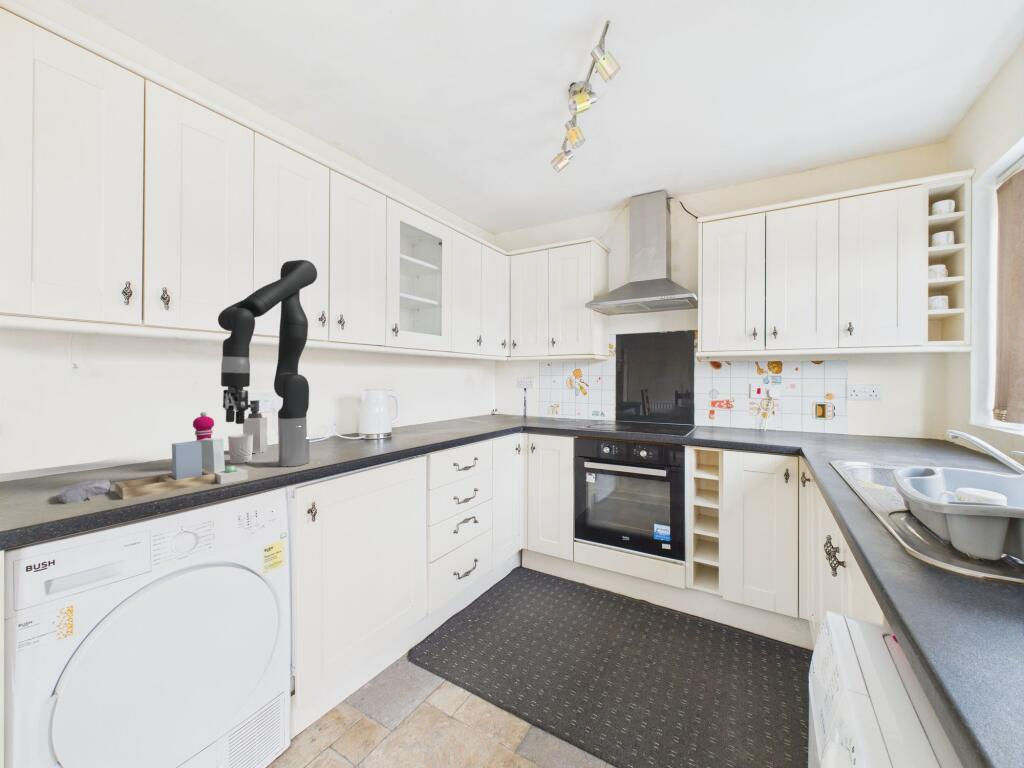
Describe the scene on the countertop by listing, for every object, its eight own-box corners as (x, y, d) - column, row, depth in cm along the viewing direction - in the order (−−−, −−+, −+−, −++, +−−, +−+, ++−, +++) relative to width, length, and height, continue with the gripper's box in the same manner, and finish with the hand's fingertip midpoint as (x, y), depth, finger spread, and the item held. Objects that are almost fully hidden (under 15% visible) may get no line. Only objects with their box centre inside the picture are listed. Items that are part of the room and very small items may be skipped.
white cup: (223, 463, 151) (222, 436, 151) (242, 459, 158) (242, 433, 158) (239, 464, 149) (238, 437, 148) (258, 460, 156) (258, 434, 156)
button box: (239, 478, 129) (238, 467, 129) (247, 482, 125) (247, 470, 125) (212, 483, 123) (212, 471, 123) (221, 487, 119) (220, 475, 119)
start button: (233, 472, 126) (233, 465, 126) (236, 474, 124) (236, 466, 124) (223, 474, 124) (223, 466, 124) (226, 475, 122) (226, 467, 122)
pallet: (203, 480, 127) (202, 469, 127) (215, 486, 120) (214, 474, 120) (115, 495, 111) (114, 482, 111) (123, 503, 105) (123, 489, 105)
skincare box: (225, 474, 135) (225, 438, 134) (214, 477, 130) (213, 440, 130) (209, 473, 135) (208, 437, 135) (197, 477, 131) (196, 439, 131)
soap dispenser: (240, 455, 166) (239, 401, 165) (251, 451, 174) (250, 400, 174) (257, 454, 167) (256, 401, 166) (267, 450, 175) (266, 400, 175)
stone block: (61, 512, 103) (115, 496, 111) (55, 495, 103) (109, 479, 110) (61, 504, 111) (111, 489, 119) (55, 488, 111) (106, 474, 118)
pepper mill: (203, 471, 138) (202, 413, 138) (186, 470, 140) (184, 412, 139) (222, 466, 146) (221, 411, 145) (205, 465, 147) (204, 410, 146)
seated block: (197, 480, 123) (197, 440, 123) (202, 482, 121) (201, 442, 120) (172, 484, 118) (171, 443, 118) (176, 486, 116) (175, 445, 116)
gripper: (257, 372, 127) (257, 423, 127) (240, 372, 136) (240, 420, 136) (230, 371, 121) (229, 425, 121) (214, 371, 130) (213, 422, 130)
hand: (234, 422), depth 128 cm, fingers open, 8 cm apart
